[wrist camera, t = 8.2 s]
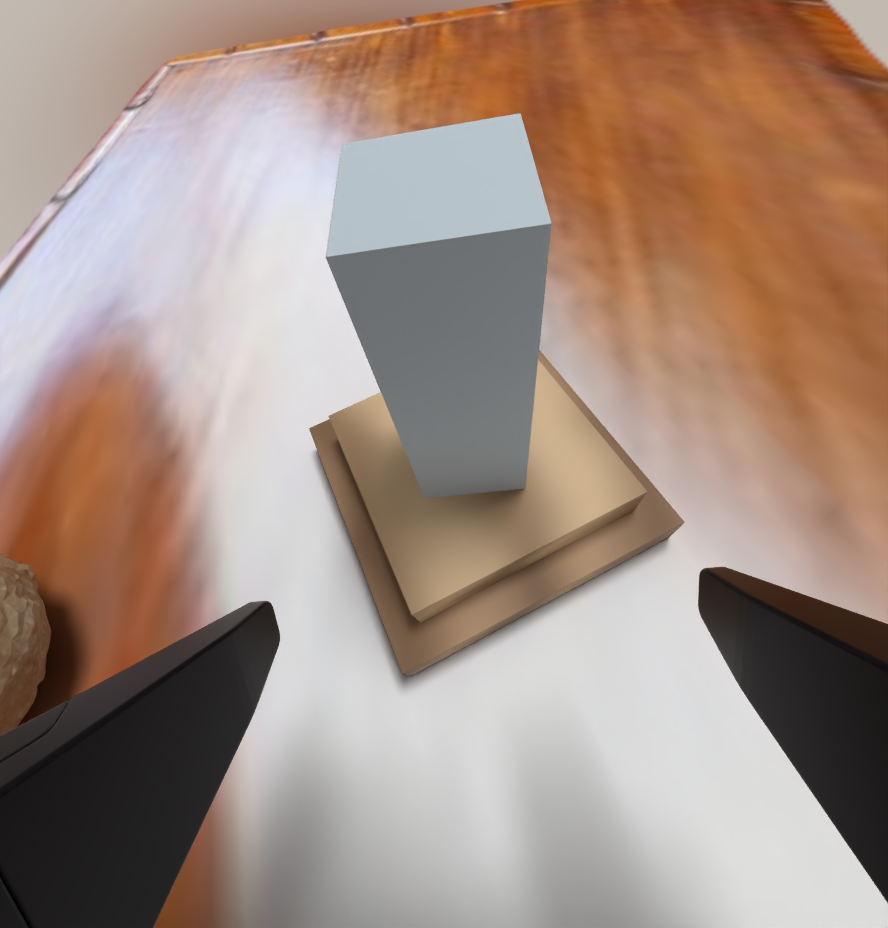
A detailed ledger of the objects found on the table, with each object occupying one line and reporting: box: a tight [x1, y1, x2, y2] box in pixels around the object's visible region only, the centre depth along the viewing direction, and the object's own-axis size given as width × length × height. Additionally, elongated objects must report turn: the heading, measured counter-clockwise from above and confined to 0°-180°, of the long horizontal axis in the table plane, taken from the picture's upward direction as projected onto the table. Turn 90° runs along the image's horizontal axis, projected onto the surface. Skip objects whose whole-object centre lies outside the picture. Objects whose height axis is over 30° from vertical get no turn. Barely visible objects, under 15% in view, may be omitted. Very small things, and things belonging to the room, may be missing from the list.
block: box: [326, 113, 551, 498], centre depth 15 cm, size 4×4×12 cm
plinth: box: [309, 350, 684, 676], centre depth 22 cm, size 14×14×4 cm
